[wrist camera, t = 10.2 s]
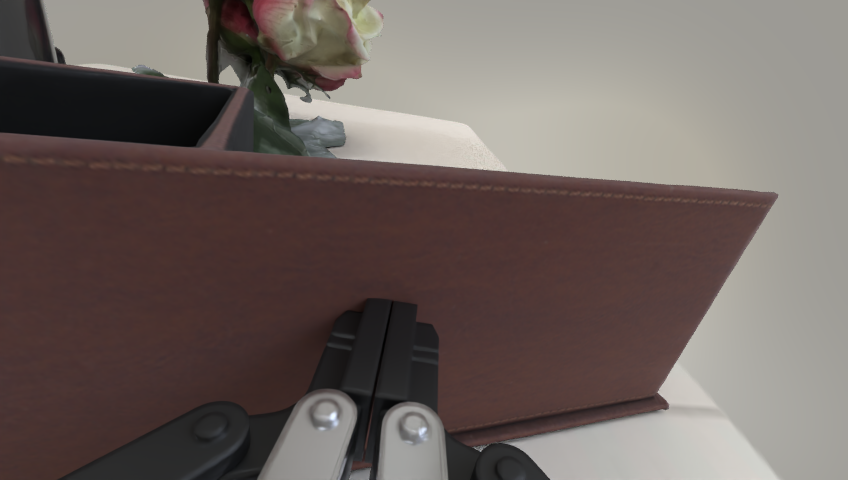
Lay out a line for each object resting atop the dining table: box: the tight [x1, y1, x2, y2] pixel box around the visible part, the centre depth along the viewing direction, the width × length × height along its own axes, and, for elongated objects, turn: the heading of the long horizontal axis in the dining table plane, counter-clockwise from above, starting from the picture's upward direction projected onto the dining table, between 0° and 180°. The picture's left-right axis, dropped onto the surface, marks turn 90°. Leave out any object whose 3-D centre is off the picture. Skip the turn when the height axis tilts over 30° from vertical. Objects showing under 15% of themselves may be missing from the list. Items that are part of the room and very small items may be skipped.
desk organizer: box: [0, 56, 778, 480], centre depth 16 cm, size 10×29×11 cm, turn 108°
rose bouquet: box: [131, 0, 383, 158], centre depth 45 cm, size 26×29×30 cm
